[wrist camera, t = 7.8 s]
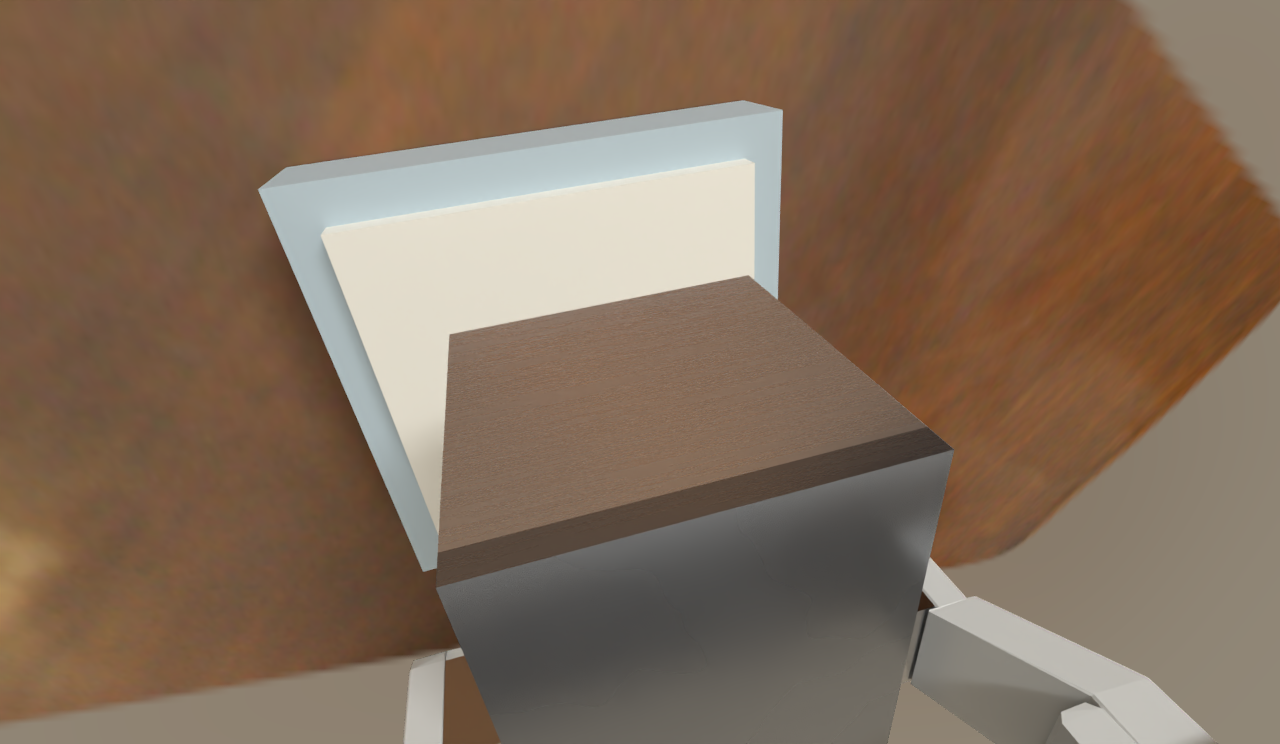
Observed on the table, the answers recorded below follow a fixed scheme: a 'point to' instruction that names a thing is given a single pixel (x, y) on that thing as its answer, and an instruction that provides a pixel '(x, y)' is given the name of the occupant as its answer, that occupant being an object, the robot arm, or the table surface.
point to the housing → (681, 525)
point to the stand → (512, 252)
